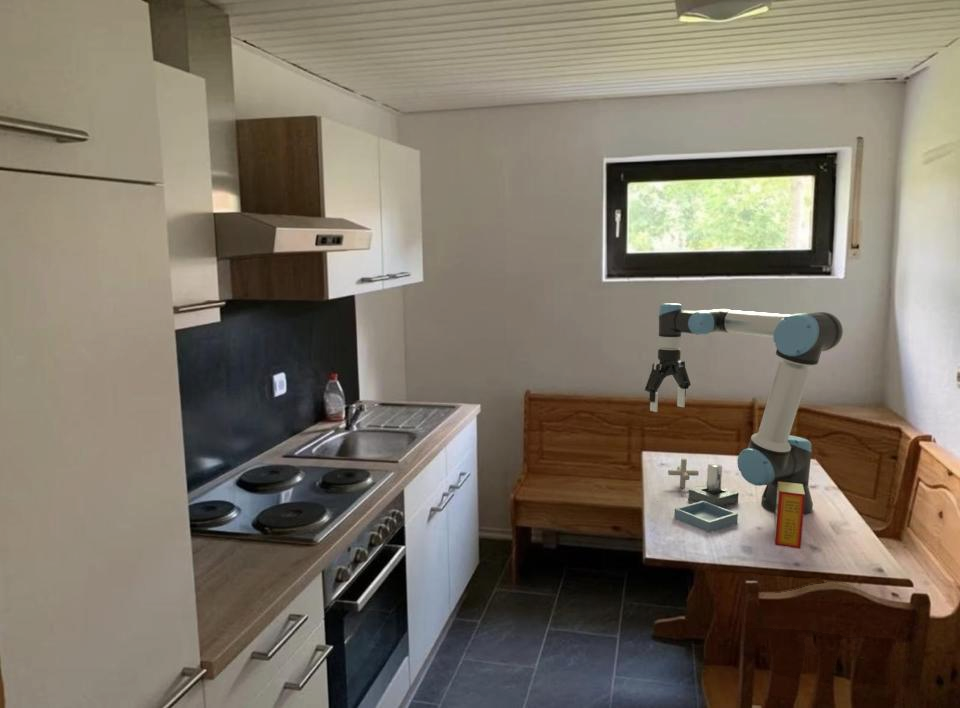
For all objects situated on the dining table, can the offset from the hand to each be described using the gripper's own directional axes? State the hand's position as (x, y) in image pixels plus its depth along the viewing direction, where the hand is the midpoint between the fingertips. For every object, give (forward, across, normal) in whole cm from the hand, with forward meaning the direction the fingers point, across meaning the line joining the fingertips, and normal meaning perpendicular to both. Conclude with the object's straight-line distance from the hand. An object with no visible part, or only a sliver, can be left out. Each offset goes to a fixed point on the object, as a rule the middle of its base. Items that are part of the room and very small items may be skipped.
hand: (667, 409), depth 252 cm
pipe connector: (+26, -1, +7) cm, 27 cm away
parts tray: (+27, +18, +32) cm, 46 cm away
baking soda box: (+28, +10, +54) cm, 62 cm away
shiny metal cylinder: (+27, +2, +22) cm, 35 cm away
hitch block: (+27, +2, +22) cm, 35 cm away
